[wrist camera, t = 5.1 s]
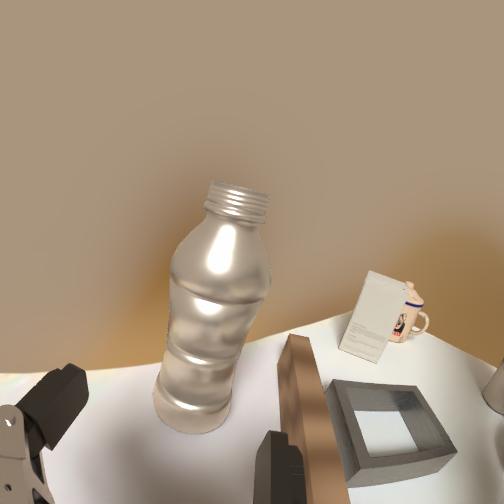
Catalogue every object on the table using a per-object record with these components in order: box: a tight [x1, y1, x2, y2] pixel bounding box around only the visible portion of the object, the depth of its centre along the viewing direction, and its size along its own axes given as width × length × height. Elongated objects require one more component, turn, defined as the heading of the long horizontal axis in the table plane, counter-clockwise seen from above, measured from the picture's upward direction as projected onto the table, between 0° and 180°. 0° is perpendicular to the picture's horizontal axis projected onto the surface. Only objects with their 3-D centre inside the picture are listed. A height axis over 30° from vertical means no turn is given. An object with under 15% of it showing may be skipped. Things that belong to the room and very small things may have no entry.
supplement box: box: [338, 270, 409, 363], centre depth 40 cm, size 7×7×13 cm
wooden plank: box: [277, 333, 350, 504], centre depth 20 cm, size 24×2×5 cm, turn 177°
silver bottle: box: [153, 181, 271, 434], centre depth 19 cm, size 6×7×20 cm
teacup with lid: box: [389, 281, 429, 343], centre depth 48 cm, size 12×9×12 cm
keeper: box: [325, 379, 457, 488], centre depth 21 cm, size 12×12×4 cm
